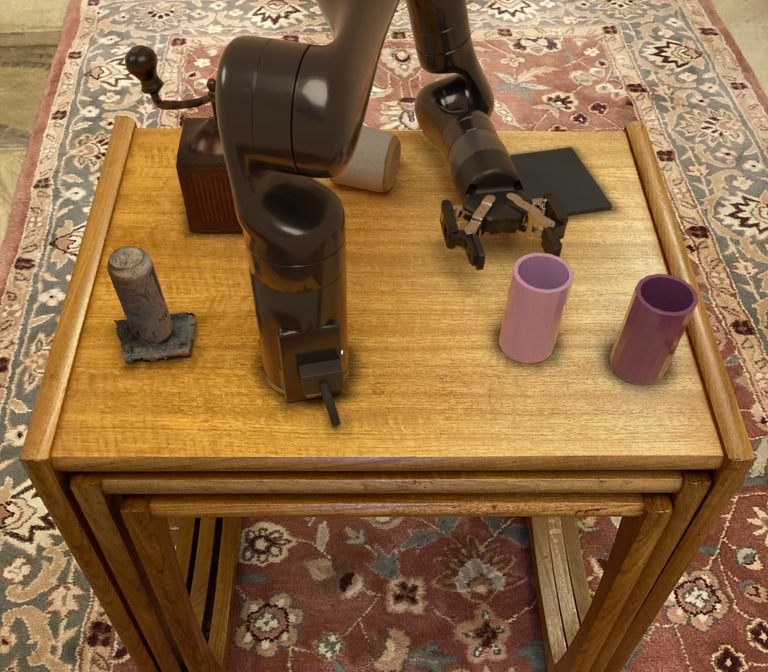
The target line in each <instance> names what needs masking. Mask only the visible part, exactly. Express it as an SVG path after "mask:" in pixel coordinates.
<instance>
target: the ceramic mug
mask: <svg viewBox="0 0 768 672" xmlns="http://www.w3.org/2000/svg"><path fill="white" fill-rule="evenodd" d="M401 155H402V143H401V140H400V139H399V137H398V136H397V135H395V134H393V133H391V132H388V131H386V130H383V129H378V128H374V127H371V126H367V125H364V124H363V126H362V130H361V133H360V137H359V141H358V144H357V147H356V149H355V152H354V154H353V157H352V159H351V161H350V163H349V164H348V166H347V167H346V169H345V170H344V171H343V172H342V173H341V174H340V175H338V176H336V177H334V178H329V179H330V182H332V183H333V184H338V185H341V186H347V187H351V188H352V187H353V188H357V189H363V190H367V191H372V192H377V193H386V192H388V191H390V190H391V189H392V188H393V185H394V184H395V181H396V179H397V177H398V176H397V175H398V173H399V172H398V171H399V168H400V163H401Z"/></svg>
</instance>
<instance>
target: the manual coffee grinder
mask: <svg viewBox="0 0 768 672" xmlns="http://www.w3.org/2000/svg"><path fill="white" fill-rule="evenodd" d="M158 63H159V59H158V55H157V53H156V52H155V51H154V49H153V48H151V47H150V46H148V45H144V44H138V45H135V46H133V47H131V48H130V49H129V50H128V52H127V53H125V55H124V64H125V68H126V70H127V73H129V74H130V75H132V77H134V78H136V79H137V80H138V81H139V82H140V89H141V92H142V94H144V95H145V94H146V95H147V94H148V95H149V96H150V98H151V101H152V103H153V105H154V106H155V107H157V108H158V109H160V110H163V111H177V110H186V109H187V110H188V109H195V108H199V107H202V106H205V105H207V104H209V103H210V104H211V109H212V115H211V116H207V117H185V118H184V121H183V124H182V129H181V133H180V137H179V143H178V147H177V153H176V163H175V168H176V169H175V170H176V173H177V178H178V182H179V186H180V190H181V196H182V200H183V203H184V208H185V213H186V219H187V223H188V230H189V232H190V233H195V234H201V235H238V234H239V235H241V234H243V235H244V233H243V229H242V227H241V225H240V223H239V221H238V218H237V215H236V211H235V205H234V200H233V195H232V190H231V185H230V181H229V176H228V172H227V167H226V163H225V159H224V154H223V150H222V145H221V140H220V135H219V129H218V122H217V113H216V103H215V91H216V78H213V77H211V78H208V80H207V82H206V83H205V84H206V85H205V86H206V88H207V90H208V91H207V94H205V95H202V96H200V97H196V98H192V99H185V100H176V101H174V100H173V101H165V100H163V99H161V96H160V92H161V89H162V88H163V87H164V85H165V83H164V81H163V80H162V78H160V77H159V74H158Z"/></svg>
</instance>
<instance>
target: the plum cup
mask: <svg viewBox="0 0 768 672" xmlns="http://www.w3.org/2000/svg"><path fill="white" fill-rule="evenodd" d="M698 304H699V296H698V293H697V291H696V289H695V288H694V287H693V285H692V284H690V283H689V282H687V281H686V280H684V279H682V278H681V277H678V276H675V275H672V274H667V273H666V274H665V273H653V274H648V275H646V276H644V277H642V278H641V279H639V280H638V282H637V284H636V285H635V287H634V290H633V293H632V296H631V298H630V300H629V304H628V306H627V309H626V312H625V314H624V317H623V320H622V322H621V325H620V327H619V329H618V333H617V336H616V338H615V341H614V343H613V345H612V348H611V351H610V355H609V361H608V362H609V367H610V368H611V371H612V372H613V373H614V375H616V376H617V377H618V378H619V379H620V380H622V381H625V382H626V383H629V384H633V385H637V386H649V385H653V384H655V383H657V382H660V380H661V379H663V377H664V376H665V373H666V372H667V369H668V367H669V366H670V363H671V361H672V359H673V357H674V355H675V353H676V351H677V349H678V346H679V344H680V343H681V340H682V337H683V335H684V334H685V332H686V329H687V327H688V325H689V324H690V320H691V318H692V316H693V314H694V313H695V310H696V308H697V306H698Z"/></svg>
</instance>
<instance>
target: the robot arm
mask: <svg viewBox="0 0 768 672" xmlns="http://www.w3.org/2000/svg"><path fill="white" fill-rule="evenodd" d="M314 1H315V3H316V5H317V7H318V10H319V11H320V13H321V15H322V17H323V19H324V21H325V22H326V24H327V27H328V29H329V31H330V32H331V35H332V38H333V40H332V41H330V42H329V43H327V44H314V43H308V42H301V41H294V40H287V39H281V38H274V37H267V36H266V37H265V36H258V35H250V34H249V35H248V34H247V35H240V36H236V37H234V38H233V39H232V40H230V41H229V42H228V43H227V45H226V46H225V48H224V49H223V51H222V53H221V55H220V59H219V61H218V66H217V69H216V76H215V80H216V91H215V103H216V113H217V122H218V129H219V135H220V140H221V145H222V150H223V154H224V159H225V163H226V167H227V172H228V176H229V181H230V185H231V190H232V195H233V200H234V205H235V211H236V215H237V218H238V221H239V223H240V225H241V227H242V229H243V239H244V245H245V246H244V247H245V252H246V260H247V267H248V272H249V281H250V286H251V294H252V299H253V306H254V312H255V320H256V327H257V333H258V346H259V348H260V351H261V357H262V371H263V376H264V378H265V381H266V382H267V384H268V385H269V386H270V387H271V388H272V389H273V390H274V391H275V392H277V393H279V394H281V395H282V396H283V397H284V399H285V402H286V403H294V402H300V401H306V400H312V399H318V398H322V399H323V402H324V406H325V408H326V412H327V415H328V418H329V422H330V424H331V426H332V427H338V426H340V425H341V424H342V423H341V418H340V416H339V413H338V408H337V406H336V403H335V400H334V395H339V394H340V395H341V394H343V392H344V389H345V388H344V383H345V382H346V380H347V378H348V376H349V372H350V357H349V336H348V335H349V334H348V329H349V328H348V291H347V290H348V288H347V233H346V232H347V231H346V226H347V225H346V212H345V208H344V204H343V202H342V200H341V198H340V197H339V196H338V194H337V193H336V192H335V191H334V190H333V189H332V188H331V187H329V186H328V185H327V184H325V183H324V182H323V181H320V180H319V179H330V178H334V177H336V176H338V175H340V174H341V173H342V172H343V171H344V170H345V169H346V167H347V166H348V164H349V163H350V161H351V159H352V157H353V154H354V152H355V149H356V147H357V144H358V141H359V137H360V133H361V130H362V126H363V125H364V122H365V118H366V114H367V111H368V107H369V102H370V98H371V94H372V90H373V87H374V82H375V79H376V75H377V70H378V67H379V63H380V59H381V56H382V52H383V48H384V45H385V42H386V39H387V35H388V32H389V29H390V27H391V24H392V22H393V19H394V17H395V14H396V12H397V9H398V7H399V5H400V1H401V0H314ZM405 5H406V9H407V14H408V19H409V23H410V29H411V32H412V38H413V42H414V46H415V52H416V56H417V59H418V63H419V64H420V67H421V68H422V69H423V70H424V71H425V72H426V73H429V74H431V75H432V74H433V75H448V76H446V77H443V78H440V79H438V80H434V81H432V82H429V83H427V84H426V85H425V84H424V85H423V86H422V87H421V89H420V90H419V91H418V93H417V94H416V97H415V100H414V115H415V119H416V122H417V124H418V126H419V128H420V130H421V131H422V133H423V134H424V136H425V137H426V138H427V139H428V141H430V142H431V143H432V144H433V145H434V146H435V147H436V148H437V149H439V150H440V151H441V153H443V154H444V157H445V159H446V163H447V164H448V167H449V168H448V169H449V175H450V178H451V184H452V186H453V188H454V189H455V192H456V195H457V197H458V200H459V203H460V204H458V205H457V204H455V205H453V202H452V201H451V200H450V199H445V198H444V199H443V200H441V202H440V203H441V204H440V212H439V224H440V227H441V232H442V236H443V240H444V243H445V247H446V248H447V249H449V250H454V249H456V248H457V247H459V248H461V249H462V250H463V251H464V252H465V255H466V258H467V260H468V264H469V265H470V266H472V267H475V270H476V271H481V270H484V268H485V263H486V252H485V249H484V247H483V244H482V239H483V238H484V237H485V235H486V234H489V235H490V236H494V235H496V236H497V235H500V234H518V235H520V236H522V237H523V238H525V239H528V240H529V239H531V238H533V239H534V240H536V241H538V242H540V246H541V248H542V250H543V253H547V254H552V255H554V256H557V257H560V258H561V252H562V249H563V243H562V241H561V240H563V239H564V237H565V235H566V230H567V225H568V223H569V216H567V215H566V213H565V211H564V210H563V208H562V206H561V205H560V203H559V201H558V200H557V198H556V196H555V195H554V193H553V192H551V191H546V192H544V196H543V198H537V199H531V197H530V196H528V195H527V194H526V193H525V192H524V189H523V185H522V182H521V179H520V177H519V175H518V173H517V171H516V168H515V166H514V164H513V162H512V160H511V158H510V155H511V154H510V153H509V151H508V148H507V147H506V145H505V144H504V143H503V141H502V140H501V138H500V137H499V134H498V132H497V130H496V128H495V125H494V123H493V121H492V120H491V117H492V116H493V113H494V110H495V109H494V108H495V95H494V92H493V89H492V86H491V84H490V82H489V79H488V78H487V76H486V73H485V72H484V70H483V68H482V66H481V63H480V61H479V59H478V56H477V52H476V50H475V47H474V41H473V39H472V33H471V26H470V19H469V12H468V6H467V0H405ZM449 74H451V75H449ZM460 218H462V219H463V221H465V222H467V223H468V224H467V225H466V226H465V228H464V229H460V228H459V225H458V222H459V220H460ZM527 218H529V219H528V222H527V224H525V223H526V222H525V221H526V219H527ZM538 226H540V227H542V230H541V229H539V227H538Z"/></svg>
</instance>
